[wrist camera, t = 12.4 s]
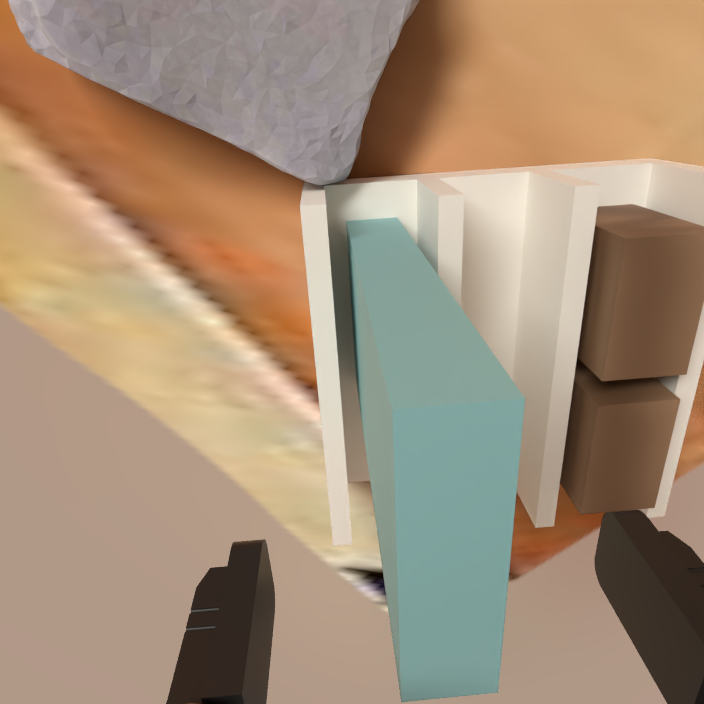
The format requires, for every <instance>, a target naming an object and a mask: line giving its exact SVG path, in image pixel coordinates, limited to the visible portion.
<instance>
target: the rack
mask: <svg viewBox="0 0 704 704" xmlns="http://www.w3.org/2000/svg"><path fill="white" fill-rule="evenodd" d="M627 204H635V205H638V206H641V207H644V208H647V209H651V210H654V211H657V212H660V213H663V214H666V215H669V216H673V217H676V218H679V219H682V220H685V221H688V222H692V223H695V224H698V225H701V226H704V167H703V166H697V165H690V164H684V163H678V162H672V161H666V160H660V159H654V158H644V159H630V160H615V161H601V162H586V163H572V164H557V165H543V166H528V167H514V168H499V169H485V170H470V171H456V172H441V173H427V174H412V175H398V176H383V177H369V178H354V179H346V180H344V181H340V182H336V183H330V184H326V185H316V184H312V183H309V182H304V185H303V191H302V197H301V203H300V211H301V222H302V232H303V242H304V252H305V262H306V272H307V283H308V293H309V303H310V313H311V323H312V334H313V344H314V354H315V364H316V374H317V384H318V395H319V405H320V415H321V425H322V435H323V445H324V456H325V466H326V476H327V486H328V496H329V506H330V517H331V527H332V537H333V546H338V545H349V544H352V533H351V520H350V507H349V495H348V483H350V482H361V481H370V476H369V469H368V462H367V455H366V448H365V441H364V433H363V426H362V419H361V412H360V405H359V398H358V391H357V384H356V373H355V357H354V341H353V326H352V310H351V294H350V279H349V263H348V247H347V232H346V221H352V220H366V219H380V218H394V217H397V218H398V219H399V221H400V222H401V223H402V225H403V226H404V228H405V229H406V231H407V232H408V233H409V235H410V236H411V238H412V239H413V240H414V242H415V243H416V245H417V246H418V247H419V249H420V250H421V252H422V253H423V255H424V256H425V257H426V259H427V260H428V262H429V263H430V264H431V266H432V267H433V269H434V270H435V272H436V273H437V274H438V276H439V277H440V279H441V280H442V281H443V283H444V284H445V286H446V287H447V289H448V290H449V291H450V293H451V294H452V296H453V297H454V298H455V300H456V301H457V303H458V304H459V306H460V307H461V308H462V310H463V311H464V313H465V314H466V315H467V317H468V318H469V320H470V321H471V322H472V324H473V325H474V327H475V328H476V330H477V331H478V332H479V334H480V335H481V337H482V338H483V339H484V341H485V342H486V344H487V345H488V347H489V348H490V349H491V351H492V352H493V354H494V355H495V356H496V358H497V359H498V361H499V362H500V364H501V365H502V366H503V368H504V369H505V371H506V372H507V373H508V375H509V376H510V378H511V379H512V381H513V382H514V383H515V385H516V386H517V388H518V389H519V390H520V392H521V393H522V395H523V396H524V398H525V406H524V417H523V427H522V438H521V449H520V460H519V471H518V481H517V493H518V495H519V497H520V499H521V501H522V503H523V505H524V507H525V509H526V511H527V513H528V515H529V517H530V518H531V520H532V522H533V524H534V526H535V528H540V527H551V526H554V522H555V514H556V507H557V500H558V493H559V485H560V478H561V471H562V463H563V456H564V449H565V441H566V434H567V427H568V419H569V412H570V405H571V397H572V390H573V383H574V376H575V368H576V361H577V354H578V346H579V339H580V332H581V324H582V317H583V310H584V302H585V295H586V288H587V280H588V273H589V266H590V259H591V251H592V244H593V237H594V229H595V222H596V215H597V207H599V206H613V205H627ZM703 361H704V303H703V307H702V311H701V316H700V320H699V324H698V328H697V332H696V337H695V341H694V345H693V349H692V353H691V358H690V362H689V366H688V370H687V374H686V375H675V376H663V377H654V378H655V379H656V380H657V381H659V382H660V383H661V384H662V385H664V386H665V387H666V388H667V389H668V390H670V391H671V392H672V393H673V394H675V395H676V396H677V397H678V398H680V404H679V408H678V412H677V416H676V420H675V425H674V429H673V433H672V437H671V441H670V446H669V450H668V454H667V458H666V462H665V467H664V471H663V475H662V479H661V483H660V487H659V492H658V496H657V500H656V504H655V508H648V509H639V510H640V511H642V512H643V513H644V514H645V515H646V516H647V517H648V518H650V517H651V518H652V517H663V516H665V512H666V508H667V504H668V500H669V496H670V492H671V488H672V484H673V480H674V476H675V472H676V468H677V464H678V460H679V456H680V452H681V448H682V444H683V440H684V436H685V432H686V428H687V424H688V420H689V416H690V413H691V409H692V405H693V401H694V397H695V393H696V389H697V385H698V381H699V377H700V373H701V369H702V365H703Z"/></svg>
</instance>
